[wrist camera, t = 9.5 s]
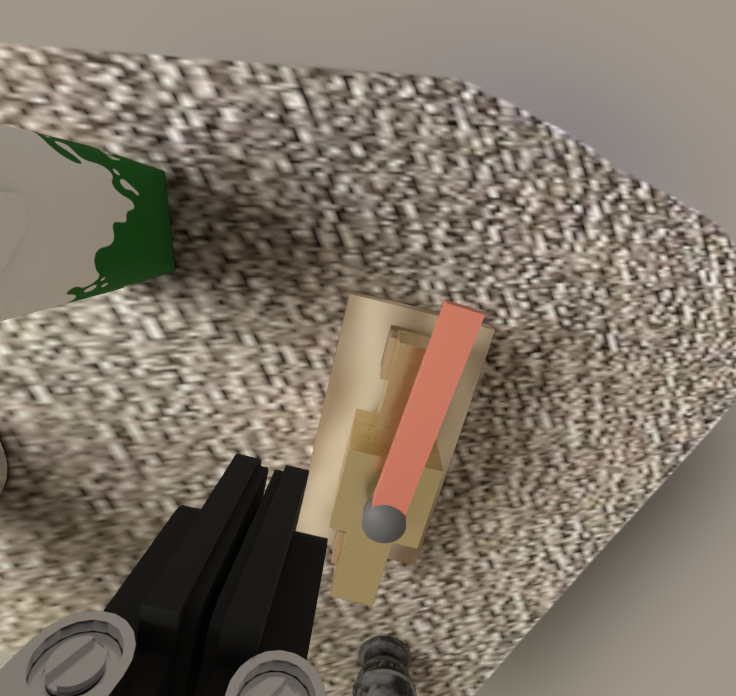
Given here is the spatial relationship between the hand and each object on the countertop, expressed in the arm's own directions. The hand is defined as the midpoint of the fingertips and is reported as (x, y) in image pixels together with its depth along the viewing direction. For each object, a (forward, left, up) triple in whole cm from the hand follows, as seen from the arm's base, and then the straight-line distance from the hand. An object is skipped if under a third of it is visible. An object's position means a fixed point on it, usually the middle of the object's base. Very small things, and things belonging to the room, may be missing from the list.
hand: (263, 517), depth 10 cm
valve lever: (+5, -4, -14) cm, 16 cm away
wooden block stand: (+5, -10, -22) cm, 24 cm away
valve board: (+5, -10, -25) cm, 27 cm away
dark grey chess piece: (+11, -34, -25) cm, 43 cm away
